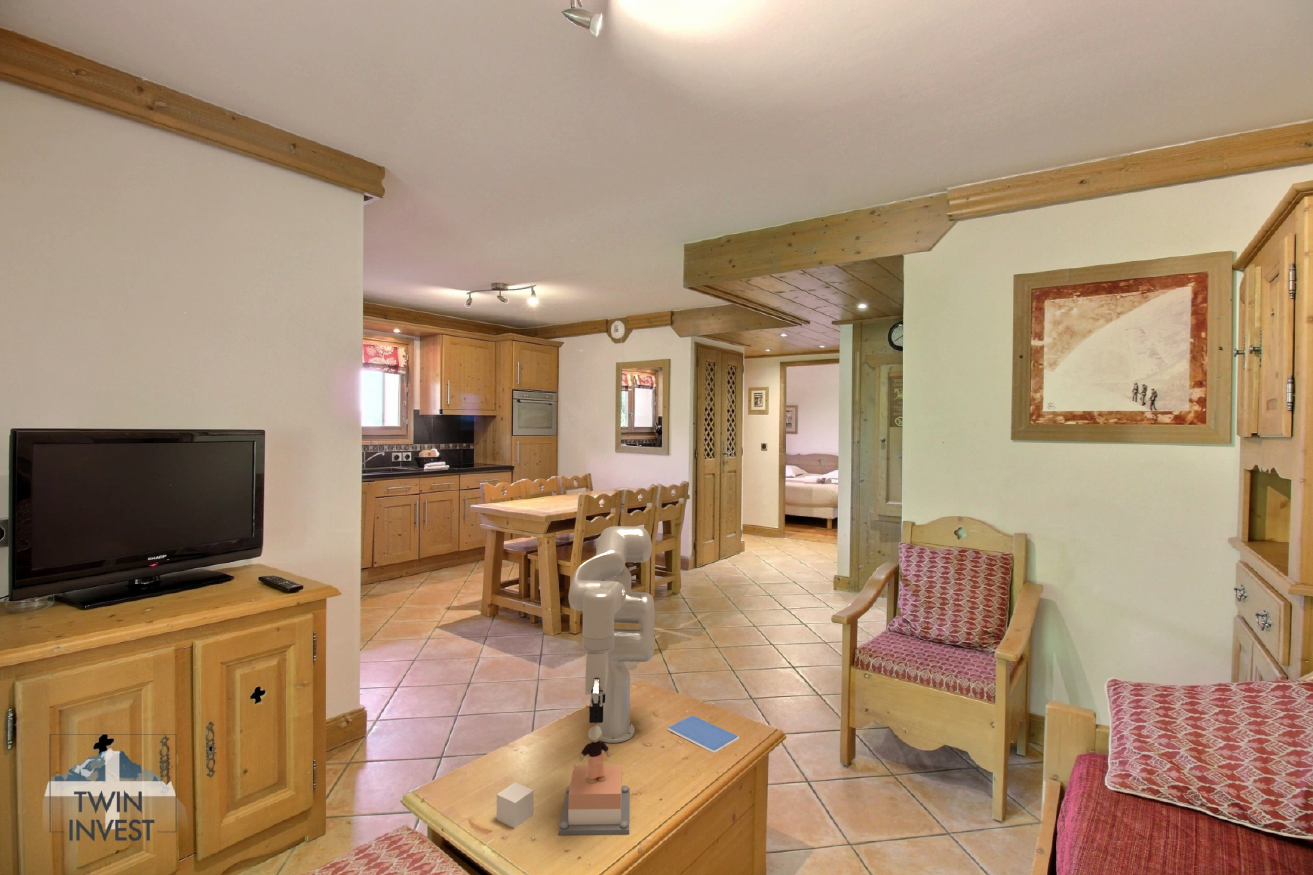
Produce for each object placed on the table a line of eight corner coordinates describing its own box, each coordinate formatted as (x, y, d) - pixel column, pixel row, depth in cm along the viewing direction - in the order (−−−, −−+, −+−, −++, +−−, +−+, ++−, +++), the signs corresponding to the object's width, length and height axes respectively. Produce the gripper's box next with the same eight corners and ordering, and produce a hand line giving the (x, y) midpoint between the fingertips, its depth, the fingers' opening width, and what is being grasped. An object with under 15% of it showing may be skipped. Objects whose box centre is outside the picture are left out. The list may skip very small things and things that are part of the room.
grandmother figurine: (604, 771, 146) (605, 719, 146) (612, 778, 142) (612, 726, 142) (576, 780, 141) (576, 727, 141) (583, 788, 138) (583, 734, 138)
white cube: (496, 819, 139) (496, 794, 139) (514, 806, 144) (515, 781, 144) (514, 828, 136) (515, 802, 136) (533, 814, 141) (533, 789, 141)
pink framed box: (566, 792, 150) (566, 760, 150) (629, 791, 151) (630, 760, 151) (558, 834, 134) (558, 799, 134) (629, 833, 135) (629, 798, 135)
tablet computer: (740, 740, 178) (741, 735, 178) (714, 755, 169) (714, 751, 169) (692, 718, 192) (692, 714, 192) (665, 731, 183) (665, 727, 183)
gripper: (585, 629, 151) (584, 695, 151) (579, 655, 134) (578, 730, 134) (615, 629, 151) (614, 695, 151) (612, 655, 134) (611, 730, 134)
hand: (597, 712), depth 143 cm, fingers open, 9 cm apart
